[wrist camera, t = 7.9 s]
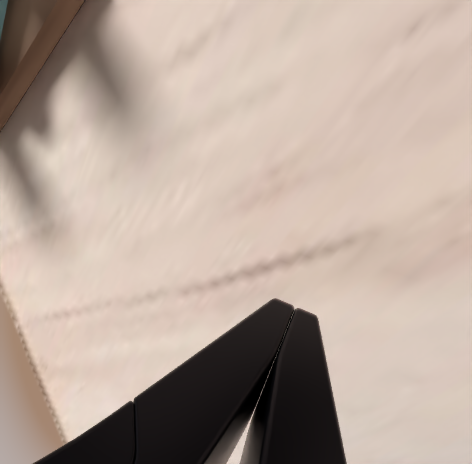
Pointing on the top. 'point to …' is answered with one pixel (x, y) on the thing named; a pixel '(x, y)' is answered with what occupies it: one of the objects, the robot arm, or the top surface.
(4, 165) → the top surface
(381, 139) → the top surface
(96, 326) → the top surface
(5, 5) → the hinged leg
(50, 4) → the brown peg stand
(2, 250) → the top surface
